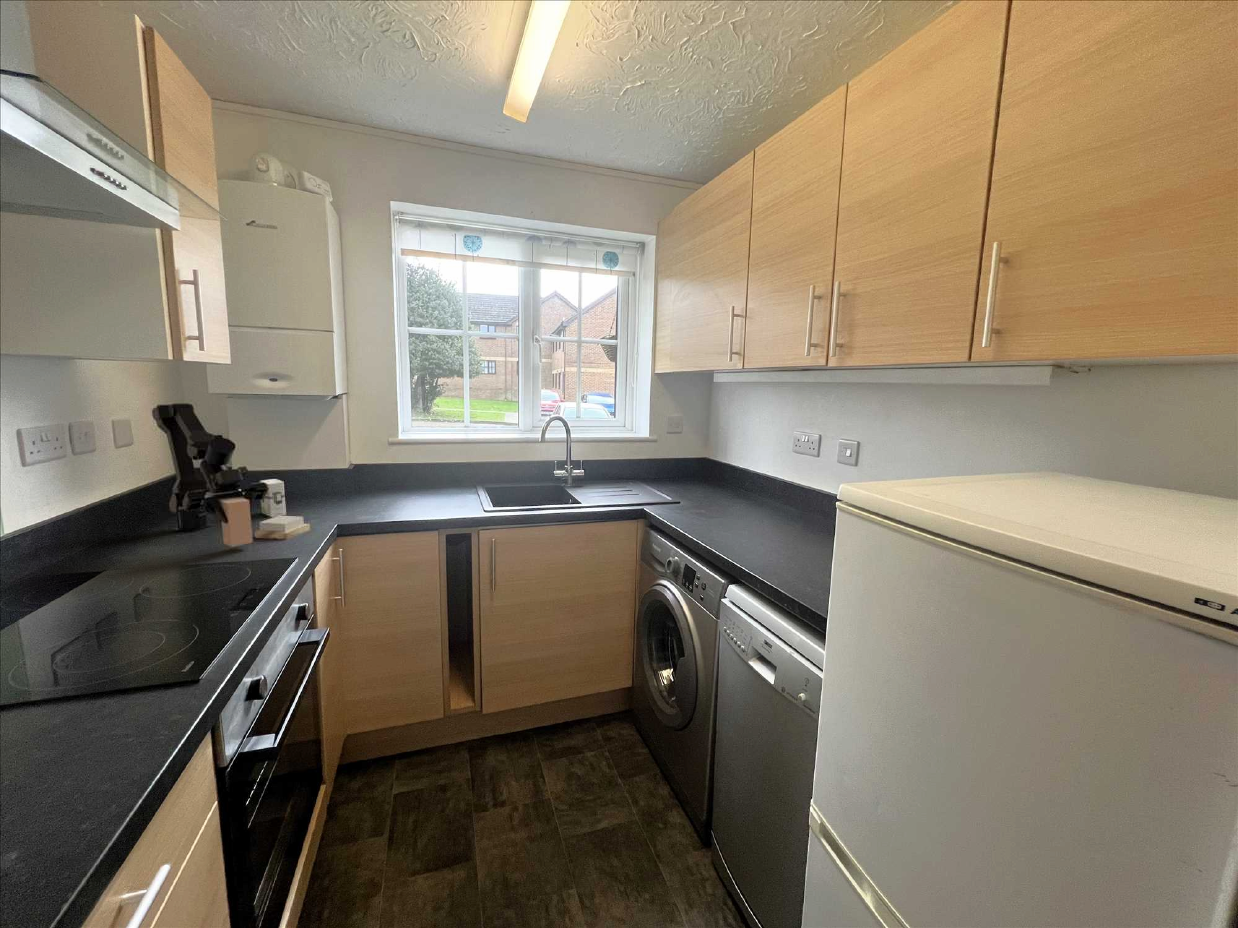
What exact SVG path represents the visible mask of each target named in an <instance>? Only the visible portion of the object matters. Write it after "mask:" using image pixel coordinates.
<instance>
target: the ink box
mask: <svg viewBox="0 0 1238 928" xmlns="http://www.w3.org/2000/svg"><path fill="white" fill-rule="evenodd" d="M259 482H264V483H266V484H267V486H268V488H269V489H268V491H267V493H266V495H265V497H264V499H262V500H260V506H261V507H260V508H261V509H260V510H261V514H263V515H266V516H268V517H270V518H273V517H276V516H287V509H286V497H285V483H284V481H282V480H280V479H276V478H273V479H272V478H270V479H263V480H259Z"/></svg>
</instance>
